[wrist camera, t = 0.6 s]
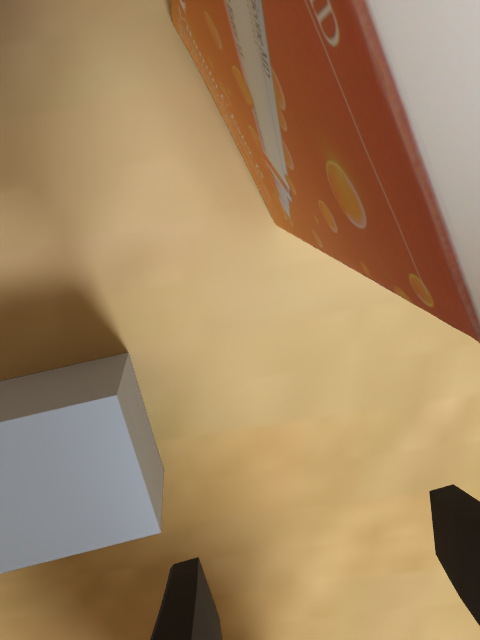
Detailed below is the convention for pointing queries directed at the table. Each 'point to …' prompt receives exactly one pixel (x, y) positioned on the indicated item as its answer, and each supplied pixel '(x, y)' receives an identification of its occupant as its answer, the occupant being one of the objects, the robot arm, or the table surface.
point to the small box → (358, 131)
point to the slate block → (75, 463)
